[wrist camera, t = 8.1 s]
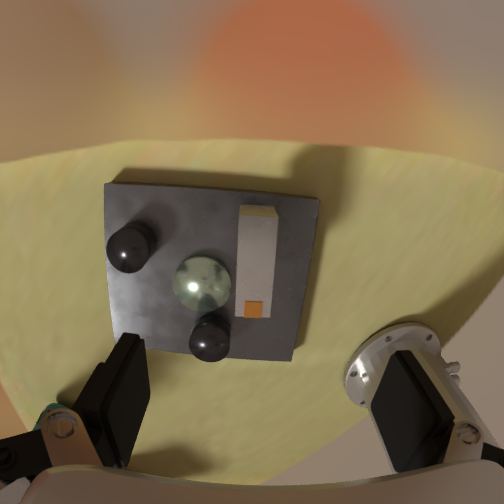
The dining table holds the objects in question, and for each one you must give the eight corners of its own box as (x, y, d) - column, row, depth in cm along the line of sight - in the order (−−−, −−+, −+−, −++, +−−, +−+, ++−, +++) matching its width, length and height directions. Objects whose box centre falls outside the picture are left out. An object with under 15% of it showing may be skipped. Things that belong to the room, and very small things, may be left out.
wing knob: (240, 199, 25) (239, 215, 19) (271, 200, 25) (278, 217, 19) (237, 281, 27) (234, 317, 21) (265, 282, 27) (270, 318, 21)
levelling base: (316, 197, 26) (327, 206, 23) (289, 352, 31) (294, 377, 28) (111, 181, 25) (91, 188, 22) (119, 335, 30) (107, 356, 27)
